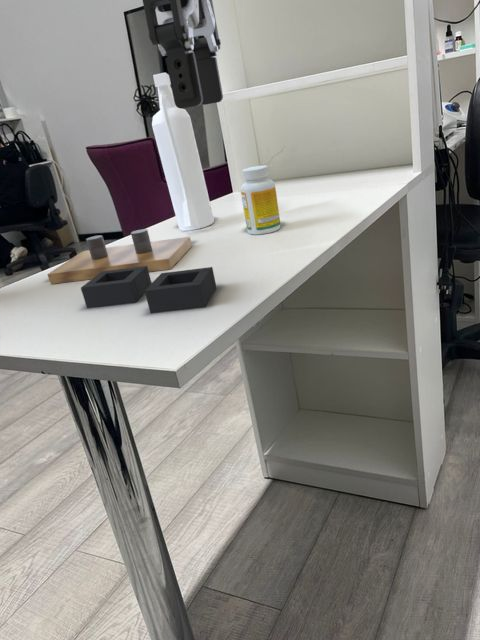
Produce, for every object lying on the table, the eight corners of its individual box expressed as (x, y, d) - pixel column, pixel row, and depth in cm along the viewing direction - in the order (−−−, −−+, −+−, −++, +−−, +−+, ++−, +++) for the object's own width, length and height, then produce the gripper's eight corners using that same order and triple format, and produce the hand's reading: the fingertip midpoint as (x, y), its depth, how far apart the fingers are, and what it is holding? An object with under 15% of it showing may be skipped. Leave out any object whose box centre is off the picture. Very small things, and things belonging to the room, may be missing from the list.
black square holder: (151, 317, 57) (144, 291, 56) (167, 297, 62) (161, 272, 61) (206, 311, 56) (200, 284, 54) (217, 292, 61) (212, 266, 60)
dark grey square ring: (88, 312, 62) (80, 287, 61) (107, 294, 67) (101, 271, 66) (137, 306, 61) (130, 281, 60) (153, 289, 66) (147, 265, 65)
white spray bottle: (170, 238, 92) (131, 75, 82) (182, 223, 103) (149, 78, 92) (208, 232, 91) (175, 67, 81) (216, 217, 102) (188, 70, 92)
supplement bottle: (241, 235, 85) (229, 172, 81) (260, 226, 89) (250, 165, 85) (268, 235, 82) (258, 170, 78) (287, 225, 86) (278, 163, 82)
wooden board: (50, 284, 77) (40, 253, 75) (85, 259, 87) (77, 232, 85) (171, 269, 73) (163, 236, 71) (192, 245, 84) (185, 217, 82)
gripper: (140, -90, 47) (181, 109, 54) (69, -155, 35) (134, 116, 42) (223, -111, 46) (254, 96, 53) (180, -186, 33) (229, 99, 40)
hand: (201, 105), depth 47 cm, fingers open, 8 cm apart
